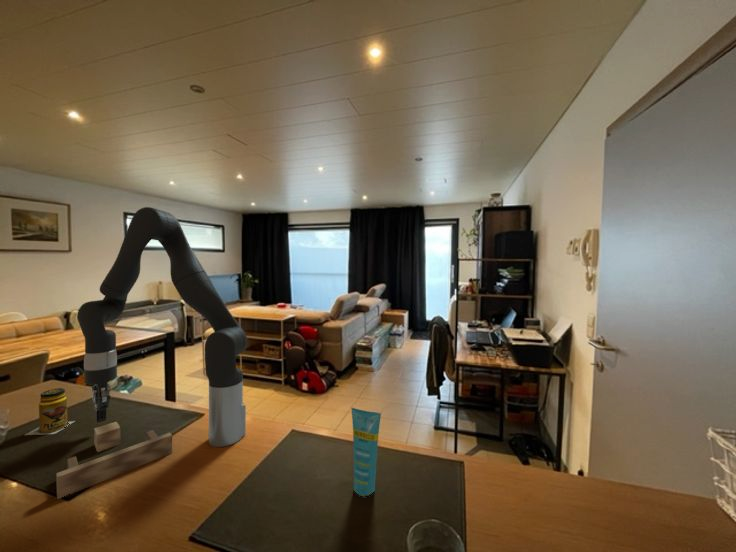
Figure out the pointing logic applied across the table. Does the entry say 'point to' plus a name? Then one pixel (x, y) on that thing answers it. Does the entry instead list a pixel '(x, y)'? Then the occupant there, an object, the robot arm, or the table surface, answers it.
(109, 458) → the wooden plank
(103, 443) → the block
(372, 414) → the tube
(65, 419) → the condiment
